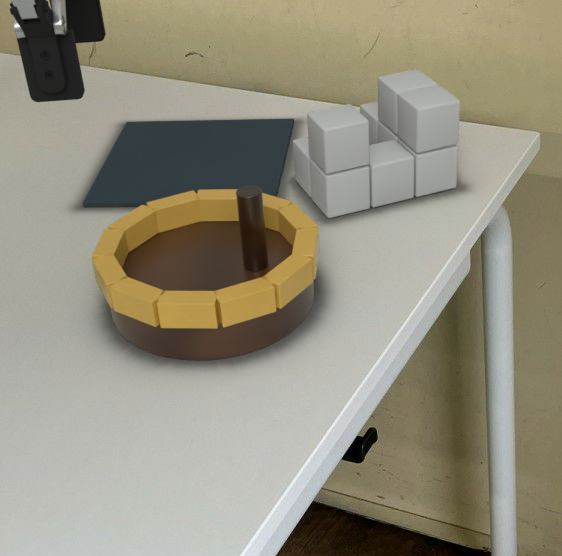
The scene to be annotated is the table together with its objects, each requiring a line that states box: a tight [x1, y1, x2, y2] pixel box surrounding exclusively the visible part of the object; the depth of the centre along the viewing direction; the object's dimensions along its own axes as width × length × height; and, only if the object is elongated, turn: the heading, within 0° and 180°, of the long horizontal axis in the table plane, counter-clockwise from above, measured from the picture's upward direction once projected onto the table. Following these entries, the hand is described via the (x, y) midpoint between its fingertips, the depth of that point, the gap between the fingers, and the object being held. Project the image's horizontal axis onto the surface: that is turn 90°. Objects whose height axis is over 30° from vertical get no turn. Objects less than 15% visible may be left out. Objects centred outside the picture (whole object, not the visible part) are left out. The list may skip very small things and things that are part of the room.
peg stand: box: [109, 185, 315, 361], centre depth 73 cm, size 15×15×9 cm
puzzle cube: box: [292, 68, 461, 219], centre depth 87 cm, size 12×12×8 cm
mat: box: [82, 118, 295, 208], centre depth 94 cm, size 17×17×1 cm
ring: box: [91, 189, 321, 329], centre depth 73 cm, size 16×16×2 cm
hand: (71, 68), depth 64 cm, fingers open, 9 cm apart
